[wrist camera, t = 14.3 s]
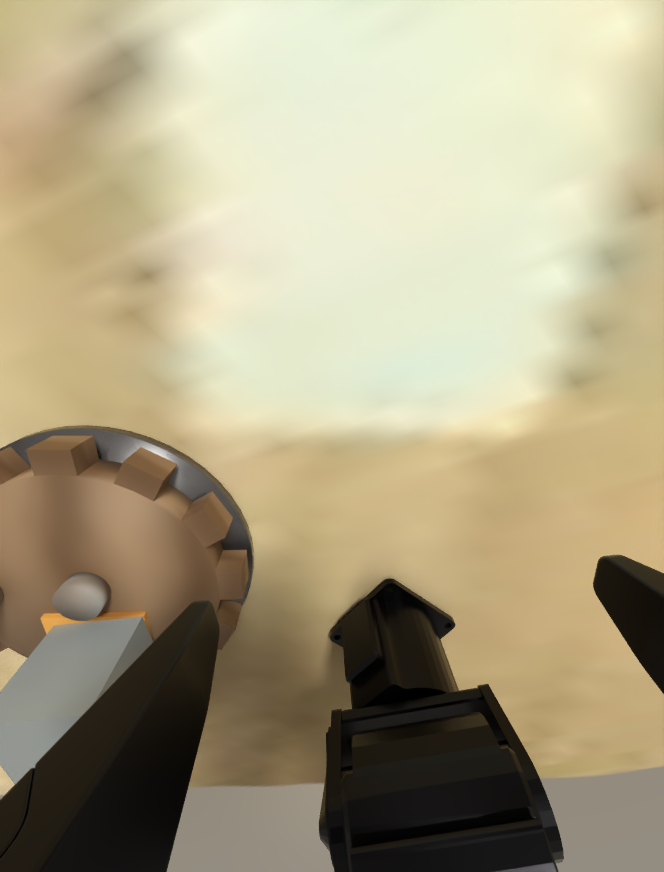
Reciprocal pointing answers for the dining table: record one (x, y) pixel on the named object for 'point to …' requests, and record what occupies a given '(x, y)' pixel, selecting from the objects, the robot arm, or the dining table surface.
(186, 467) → the base plate
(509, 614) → the dining table surface
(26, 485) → the index wheel
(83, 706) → the block
